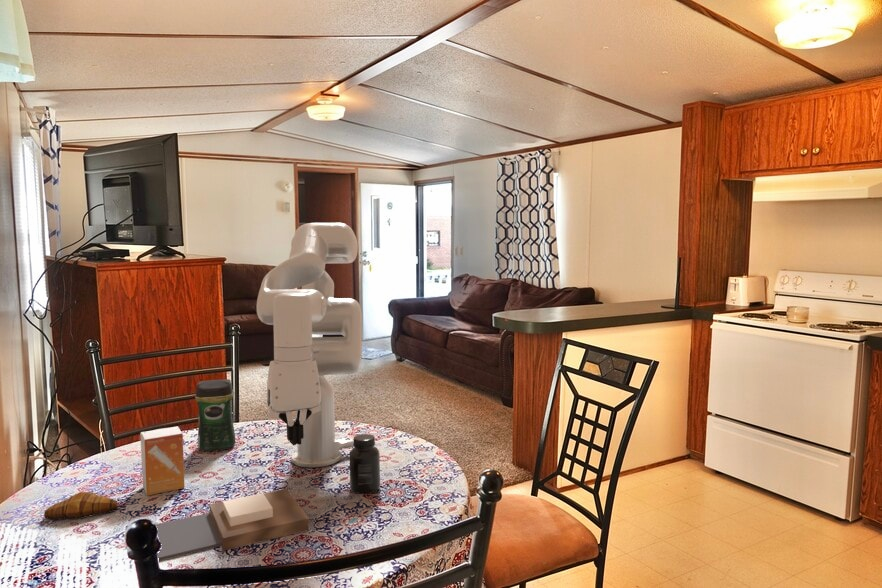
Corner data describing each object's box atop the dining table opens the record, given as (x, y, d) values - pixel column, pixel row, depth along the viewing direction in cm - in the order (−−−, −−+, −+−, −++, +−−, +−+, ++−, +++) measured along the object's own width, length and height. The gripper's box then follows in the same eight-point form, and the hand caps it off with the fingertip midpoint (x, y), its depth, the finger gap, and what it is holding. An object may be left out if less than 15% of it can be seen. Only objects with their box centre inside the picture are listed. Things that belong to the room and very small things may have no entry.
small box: (146, 496, 134) (143, 439, 133) (142, 486, 139) (139, 431, 138) (185, 488, 138) (183, 432, 137) (180, 479, 144) (177, 425, 142)
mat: (215, 514, 125) (214, 511, 125) (227, 544, 113) (227, 541, 113) (150, 528, 119) (150, 525, 119) (156, 561, 107) (156, 558, 107)
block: (263, 501, 126) (263, 493, 126) (272, 516, 119) (272, 508, 119) (223, 509, 122) (222, 501, 122) (230, 526, 115) (230, 517, 115)
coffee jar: (236, 440, 170) (233, 375, 168) (234, 450, 163) (232, 382, 161) (199, 444, 168) (196, 378, 166) (196, 453, 160) (193, 384, 158)
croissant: (121, 504, 131) (120, 481, 130) (114, 518, 124) (113, 494, 124) (50, 512, 127) (48, 489, 126) (39, 527, 121) (37, 502, 120)
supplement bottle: (385, 485, 140) (385, 434, 139) (370, 496, 134) (369, 444, 133) (360, 480, 143) (359, 430, 142) (343, 491, 137) (343, 439, 135)
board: (287, 499, 133) (287, 488, 132) (309, 529, 119) (308, 518, 118) (209, 515, 125) (209, 504, 125) (223, 550, 111) (223, 538, 111)
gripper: (323, 348, 129) (324, 432, 131) (251, 354, 122) (253, 443, 123) (335, 353, 123) (336, 442, 124) (259, 360, 115) (262, 454, 117)
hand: (295, 442), depth 124 cm, fingers closed
